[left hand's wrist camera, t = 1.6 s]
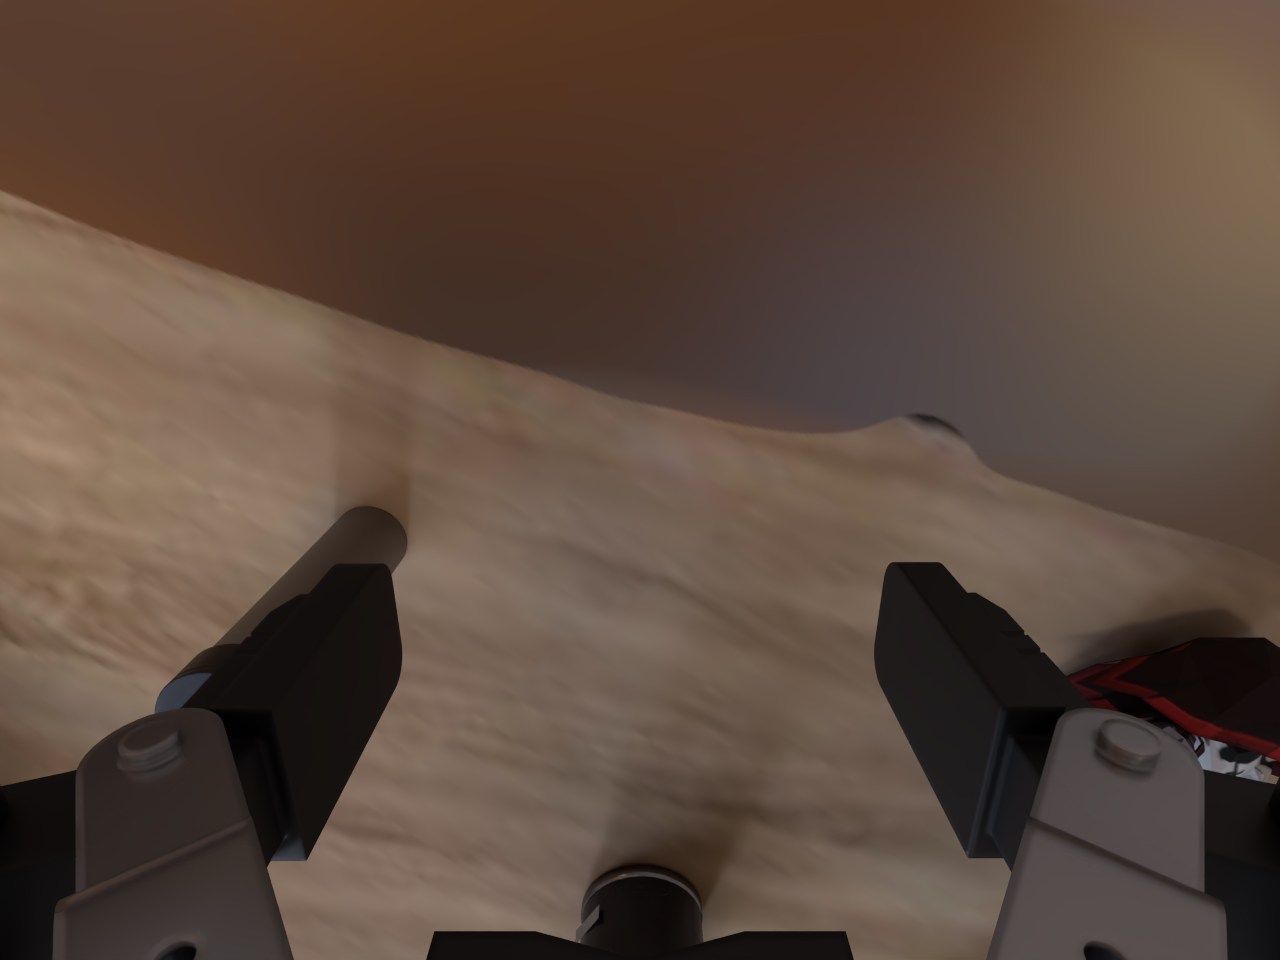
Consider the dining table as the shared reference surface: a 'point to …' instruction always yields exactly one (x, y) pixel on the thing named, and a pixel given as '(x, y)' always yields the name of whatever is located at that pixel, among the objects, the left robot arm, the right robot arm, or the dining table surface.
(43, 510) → the dining table surface
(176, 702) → the lid
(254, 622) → the brown long cylinder
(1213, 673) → the toy
